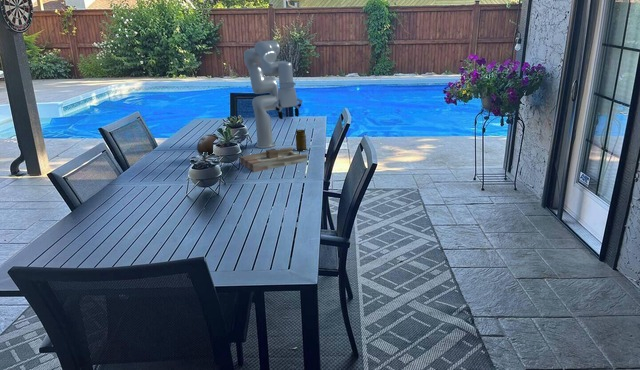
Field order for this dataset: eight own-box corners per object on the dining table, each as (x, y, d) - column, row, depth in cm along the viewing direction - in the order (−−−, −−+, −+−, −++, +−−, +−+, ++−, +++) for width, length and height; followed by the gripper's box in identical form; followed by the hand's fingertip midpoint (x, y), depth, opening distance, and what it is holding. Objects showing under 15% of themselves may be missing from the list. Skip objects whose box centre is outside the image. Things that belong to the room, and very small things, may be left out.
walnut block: (266, 156, 274) (265, 150, 273) (274, 155, 276) (274, 148, 275) (270, 158, 270) (269, 152, 269) (278, 157, 272) (277, 150, 271)
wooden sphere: (193, 162, 279) (189, 137, 274) (210, 155, 291) (207, 131, 286) (213, 164, 272) (210, 138, 267) (230, 157, 284) (227, 132, 279)
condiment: (302, 147, 298) (301, 128, 294) (311, 149, 292) (310, 130, 288) (293, 150, 294) (291, 130, 290) (301, 152, 288) (300, 132, 284)
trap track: (240, 163, 271) (239, 156, 270) (291, 153, 286) (291, 147, 284) (253, 172, 255) (253, 164, 253) (307, 161, 269) (307, 154, 268)
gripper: (297, 83, 266) (299, 114, 271) (268, 87, 258) (271, 118, 263) (304, 84, 259) (306, 116, 265) (274, 88, 252) (277, 120, 257)
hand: (288, 117), depth 264 cm, fingers open, 9 cm apart
